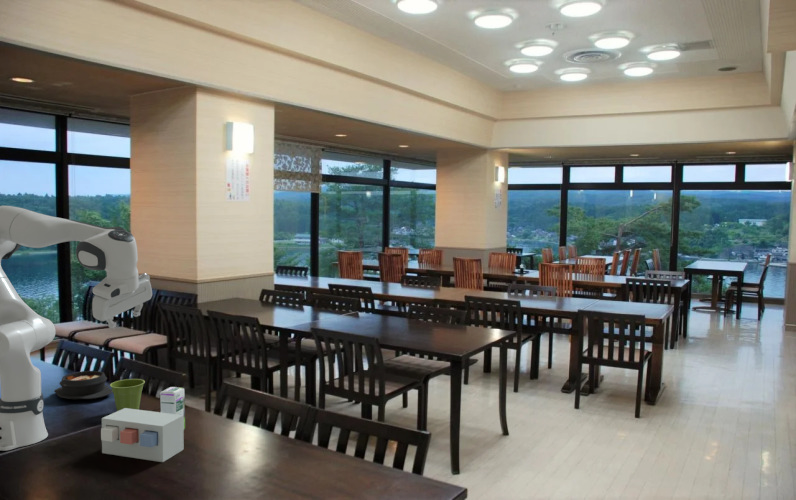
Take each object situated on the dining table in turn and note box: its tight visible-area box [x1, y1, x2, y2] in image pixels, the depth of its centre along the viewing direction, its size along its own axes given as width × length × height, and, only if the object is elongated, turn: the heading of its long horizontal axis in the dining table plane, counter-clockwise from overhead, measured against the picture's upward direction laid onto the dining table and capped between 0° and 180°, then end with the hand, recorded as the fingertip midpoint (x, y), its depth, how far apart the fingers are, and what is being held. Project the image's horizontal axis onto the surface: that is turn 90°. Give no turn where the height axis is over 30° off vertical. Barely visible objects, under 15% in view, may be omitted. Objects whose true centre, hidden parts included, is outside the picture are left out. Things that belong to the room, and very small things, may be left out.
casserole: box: [53, 370, 113, 401], centre depth 235 cm, size 25×19×8 cm
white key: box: [100, 426, 119, 442], centre depth 178 cm, size 4×3×4 cm
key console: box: [101, 408, 185, 463], centre depth 182 cm, size 22×10×11 cm, turn 75°
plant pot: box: [109, 378, 146, 412], centre depth 216 cm, size 12×12×11 cm
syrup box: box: [159, 386, 186, 430], centre depth 199 cm, size 6×6×14 cm
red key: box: [120, 428, 139, 445], centre depth 176 cm, size 4×3×4 cm
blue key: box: [140, 431, 158, 447], centre depth 174 cm, size 4×3×4 cm
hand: (124, 321), depth 184 cm, fingers open, 8 cm apart
